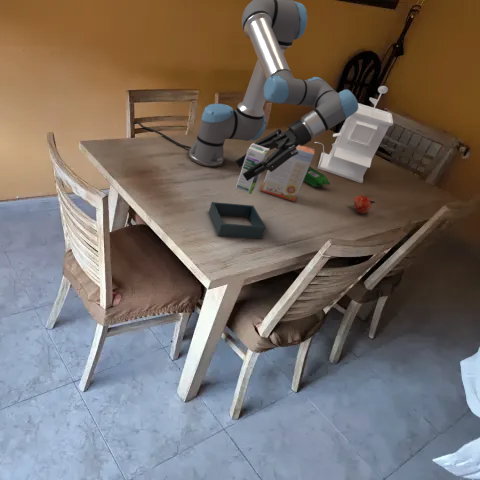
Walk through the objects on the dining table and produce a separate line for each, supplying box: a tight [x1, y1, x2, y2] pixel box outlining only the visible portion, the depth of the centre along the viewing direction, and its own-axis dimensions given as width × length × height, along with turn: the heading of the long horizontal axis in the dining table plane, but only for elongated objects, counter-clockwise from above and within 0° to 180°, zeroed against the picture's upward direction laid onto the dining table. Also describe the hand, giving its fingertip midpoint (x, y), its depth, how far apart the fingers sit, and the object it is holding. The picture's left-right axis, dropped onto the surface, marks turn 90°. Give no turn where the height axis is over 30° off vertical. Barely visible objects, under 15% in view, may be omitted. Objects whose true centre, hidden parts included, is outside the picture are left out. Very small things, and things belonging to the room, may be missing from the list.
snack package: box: [303, 165, 331, 188], centre depth 187 cm, size 7×16×5 cm, turn 36°
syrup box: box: [234, 142, 270, 195], centre depth 136 cm, size 6×6×14 cm
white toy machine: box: [313, 85, 394, 184], centre depth 197 cm, size 24×28×40 cm
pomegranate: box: [348, 194, 376, 214], centre depth 172 cm, size 7×7×10 cm
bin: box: [208, 201, 267, 240], centre depth 146 cm, size 16×14×4 cm
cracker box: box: [260, 145, 316, 202], centre depth 167 cm, size 14×6×21 cm, turn 71°
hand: (241, 170), depth 136 cm, fingers closed on syrup box, 8 cm apart
